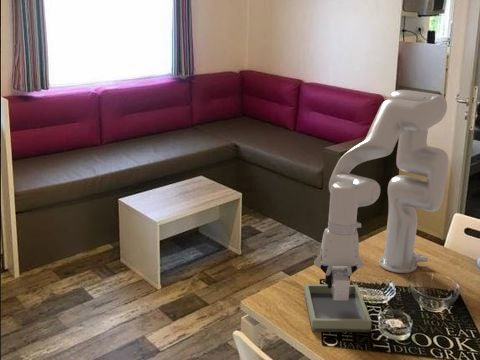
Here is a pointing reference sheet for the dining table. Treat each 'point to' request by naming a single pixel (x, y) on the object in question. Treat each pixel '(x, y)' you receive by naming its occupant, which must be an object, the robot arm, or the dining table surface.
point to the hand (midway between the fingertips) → (337, 285)
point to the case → (336, 310)
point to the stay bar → (339, 283)
